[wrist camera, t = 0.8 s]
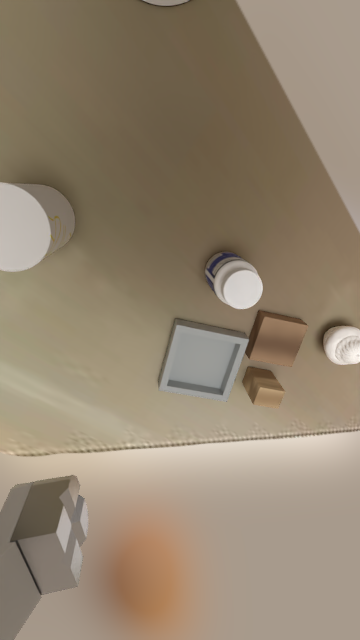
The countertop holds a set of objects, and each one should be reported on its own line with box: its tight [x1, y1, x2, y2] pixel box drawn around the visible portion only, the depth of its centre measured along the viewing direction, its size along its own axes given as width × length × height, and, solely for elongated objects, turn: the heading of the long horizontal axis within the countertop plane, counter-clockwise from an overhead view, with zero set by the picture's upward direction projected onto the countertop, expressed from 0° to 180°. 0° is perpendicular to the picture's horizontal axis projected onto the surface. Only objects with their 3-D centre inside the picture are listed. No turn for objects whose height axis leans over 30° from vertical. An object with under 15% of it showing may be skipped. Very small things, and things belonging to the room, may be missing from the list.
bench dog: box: [242, 367, 285, 409], centre depth 51 cm, size 3×4×6 cm
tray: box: [158, 318, 249, 402], centre depth 51 cm, size 11×11×2 cm
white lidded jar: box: [323, 326, 360, 365], centre depth 50 cm, size 6×6×7 cm
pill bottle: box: [205, 252, 263, 309], centre depth 43 cm, size 6×6×10 cm
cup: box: [0, 182, 75, 272], centre depth 37 cm, size 8×8×12 cm
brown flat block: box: [245, 310, 308, 367], centre depth 51 cm, size 7×7×3 cm
